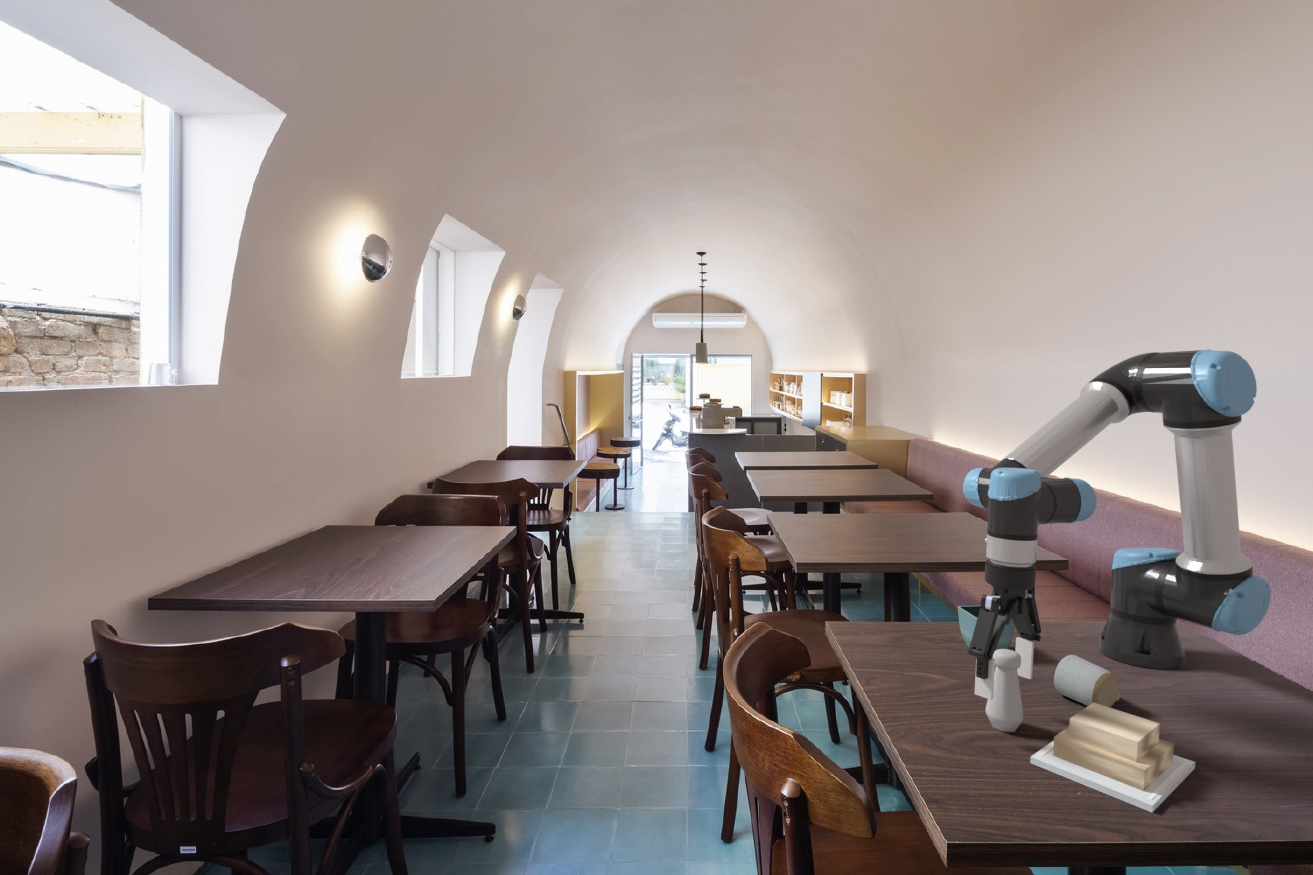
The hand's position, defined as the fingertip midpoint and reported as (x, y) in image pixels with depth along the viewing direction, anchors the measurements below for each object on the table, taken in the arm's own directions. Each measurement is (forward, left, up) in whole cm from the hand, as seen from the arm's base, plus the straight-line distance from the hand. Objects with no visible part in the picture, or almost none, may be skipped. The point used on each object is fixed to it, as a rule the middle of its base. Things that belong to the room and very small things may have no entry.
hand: (1004, 686), depth 120 cm
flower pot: (-22, -28, -7) cm, 37 cm away
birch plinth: (-6, +15, -7) cm, 18 cm away
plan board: (-6, +15, -7) cm, 18 cm away
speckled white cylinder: (-23, -3, -7) cm, 24 cm away
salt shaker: (0, 0, -7) cm, 7 cm away
